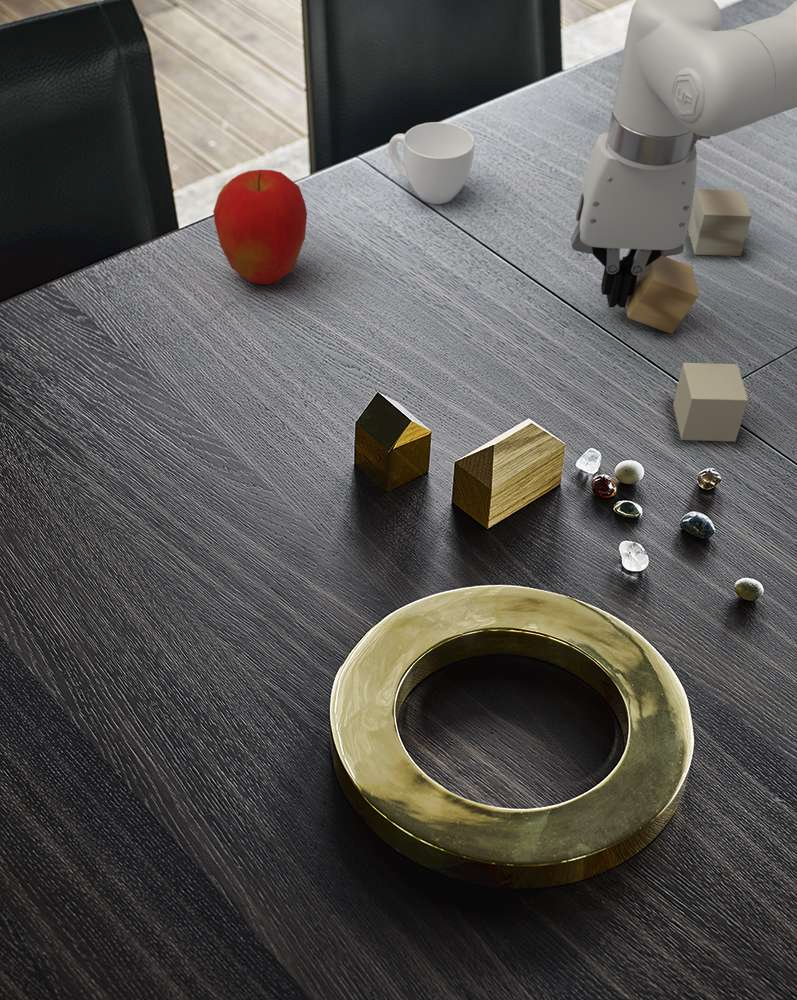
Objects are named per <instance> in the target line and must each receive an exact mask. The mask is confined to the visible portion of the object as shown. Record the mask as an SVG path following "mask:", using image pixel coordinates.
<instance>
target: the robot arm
mask: <svg viewBox="0 0 797 1000" xmlns="http://www.w3.org/2000/svg"><path fill="white" fill-rule="evenodd" d="M722 18H723V17H722V12H721V9H720V7H719V5H718V3H717V2H716V1H715V0H635V1H634V3H633V4H632V7H631V12H630V15H629V20H628V24H627V31H626V35H625V36H626V37H625V42H624V47H623V53H622V58H621V63H620V68H619V73H618V78H617V84H616V89H615V95H614V100H613V105H612V109H611V115H610V120H609V125H608V131H607V132H603V133H601V134H600V135H599V136H598V137H597V139H596V141H595V143H594V145H593V148H592V151H591V152H590V153H591V154H590V156H589V159H588V162H587V165H586V168H585V172H584V175H583V179H582V182H581V187H580V190H579V193H578V199H577V204H576V209H575V221H576V222H578V223H577V225H576V227H575V229H574V231H573V233H572V235H571V237H570V243H571V249H572V250H573V251H576V252H580V253H584V254H587V255H590V254H591V255H593V256H594V257H595V258H596V259H597V261H599V263H600V264H601V265H602V266H603V267H604V270H603V274H602V278H601V286H600V292H601V295H602V296H606V300H607V305H608V308H612V309H613V308H615V307H619V309H625V308H626V302H627V298H628V296H632V295H633V293H634V289H635V284H636V280H637V276H638V275H640V274H641V273H642V272H643V270H644V268H645V267H646V266H647V265H649V264H650V263H652V262H654V261H655V260H657V259H658V258H659V257H660V256H663V257H665V256H666V257H671V256H677V255H680V254H683V251H684V242H685V240H686V238H687V235H688V227H689V223H690V217H691V211H692V206H693V202H694V198H695V191H696V190H695V189H696V181H697V180H696V179H697V164H698V157H697V155H698V154H697V146H696V144H697V142H698V141H702V139H703V140H709V139H710V138H711V137H712V138H713V137H718V136H722V135H725V134H729V133H730V132H733V131H736V130H738V129H743V128H745V127H747V126H750V125H752V124H755V123H757V122H759V121H763V120H765V119H768V118H770V117H773V116H775V115H779V114H782V113H784V112H787V111H789V110H793V109H796V108H797V0H796V1H794V2H792V4H791V5H789V6H788V7H787V8H785V9H784V10H782V11H781V12H780V13H778V14H776V15H774V16H770V17H767V18H764V19H760V20H756V21H754V22H751V23H748V24H745V25H741V26H738V27H736V28H732V29H726V30H725V29H724V30H721V28H722V21H723V19H722ZM621 249H622V250H623V249H625V250H627V253H626V255H625V256H622V259H621Z"/></svg>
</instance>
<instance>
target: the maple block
mask: <svg viewBox="0 0 797 1000" xmlns="http://www.w3.org/2000/svg"><path fill="white" fill-rule="evenodd" d="M698 299H699V291H698V287H697V281H696V277H695V272H694V268H693V266H691V265H689V264H686V263H684V262H681V261H679V260H676V259H674V258H671V257H669V256H665V257H663V256H660V257H659V258H658V259H657V260H655V261H654V262H652V263H650V264H649V265H647V266H646V267H645V268H644V270H643V272H642V273H641V274H640V275H638V276H637V280H636V284H635V289H634V293H633V295H632V296H628V298H627V302H626V307H625V308H626V315H627V319H630V320H633V321H635V322H638V323H641V324H643V325H646V326H648V327H652V328H654V329H657V330H659V331H662V332H665V333H667V334H670V335H672V334H673V333H674V332H675V330H676V329H677V328H678V326H679V325H680V324H681V322H682V321H683V320H684V318H685V317H686V315H687V314H688V312H689V311H690V310H691V308H692V307H693V306H694V304H695V303H696V301H697V300H698Z"/></svg>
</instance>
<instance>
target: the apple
mask: <svg viewBox="0 0 797 1000" xmlns="http://www.w3.org/2000/svg"><path fill="white" fill-rule="evenodd" d="M307 211H308V210H307V205H306V202H305V198H304V196H303V193H302V191H301V189H300V186H299V185H298V184H297V183H296V182H294V181H293V180H292V179H290V177H288V176H286V175H285V173H283V172H282V171H277V170H274V169H254V170H248V171H245V172H242V173H239V174H238V175H236V176H234V177H233V178H231V179H230V180H229V181H228V182H227V183H226V184H225V185H224V186H223V187H222V188H221V190H220V192H219V193H218V195H217V198H216V201H215V204H214V208H213V220H214V225H215V229H216V233H217V236H218V241H219V246H220V247H221V249H222V251H223V254H224V255H225V258H226V260H227V262H228V263H229V266H230V267H231V269H232V270H233V271H234V272H235V273H237V275H239V276H241V277H242V278H244V279H246V280H247V281H249V282H251V283H252V284H254V285H255V284H256V285H262V286H263V285H264V286H265V285H271V284H275V283H277V282H279V281H280V280H281V279H283V278H284V277H285V276H286V275H288V274H289V273H291V272H292V271H293V270H294V268H295V266H296V264H297V260H298V259H299V255H300V252H301V250H302V247H303V245H304V241H305V239H306V229H307V219H308V212H307Z"/></svg>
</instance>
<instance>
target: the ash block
mask: <svg viewBox="0 0 797 1000" xmlns="http://www.w3.org/2000/svg"><path fill="white" fill-rule="evenodd" d="M695 189H696V188H695ZM751 219H752V214H751V211H750V208H749V205H748V203H747V199H746V196H745V193H744V191H743V190H737V189H736V190H735V189H732V190H731V189H707V188H706V189H702V188H697V189H696V190H695V192H694V197H693V205H692V211H691V217H690V223H689V227H688V231H687V234H688V236H689V240H690V243H691V248H692V250H693V254H694V255H695V256H725V257H726V256H727V257H728V256H729V257H741V256H742V253H743V250H744V249H743V248H744V245H745V242H746V238H747V235H748V231H749V227H750V224H751Z"/></svg>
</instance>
